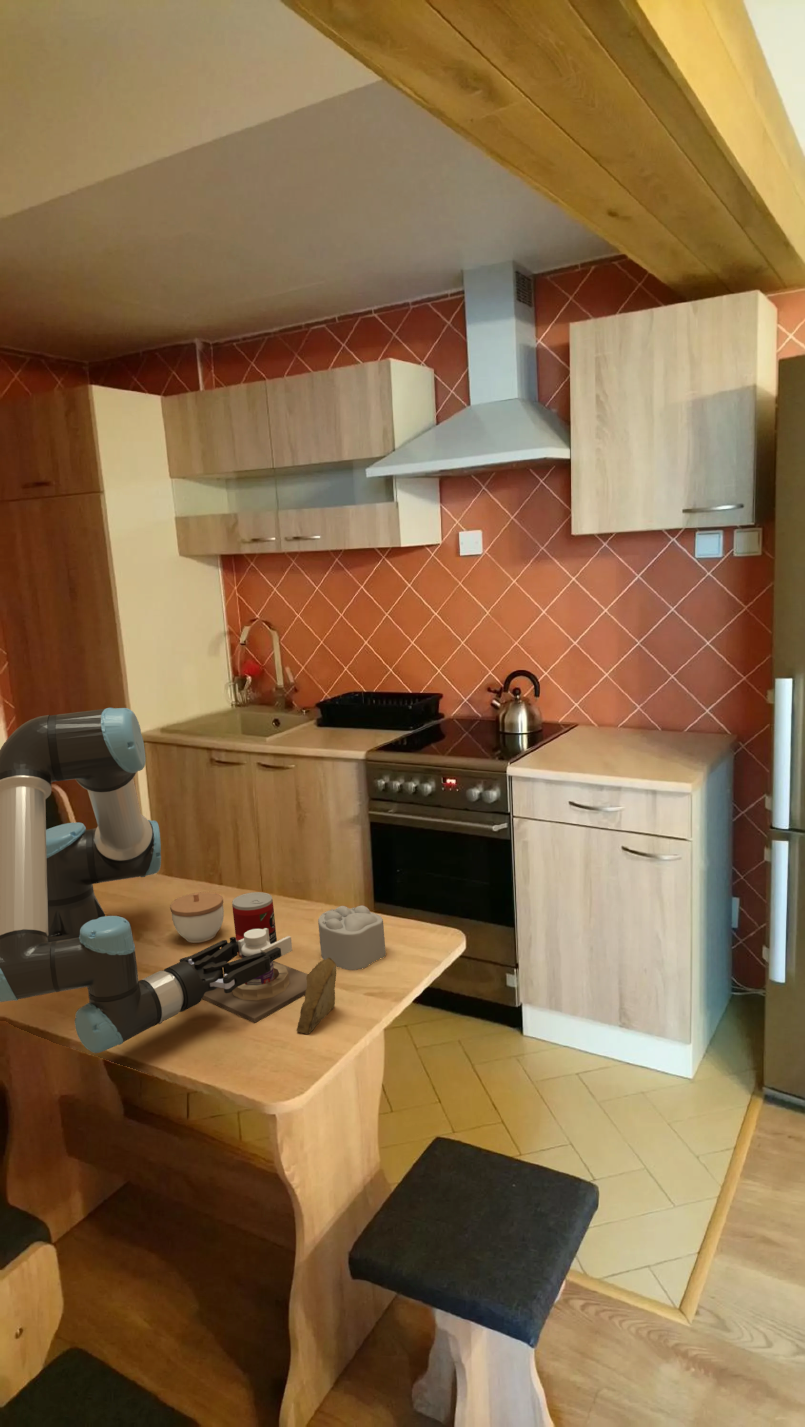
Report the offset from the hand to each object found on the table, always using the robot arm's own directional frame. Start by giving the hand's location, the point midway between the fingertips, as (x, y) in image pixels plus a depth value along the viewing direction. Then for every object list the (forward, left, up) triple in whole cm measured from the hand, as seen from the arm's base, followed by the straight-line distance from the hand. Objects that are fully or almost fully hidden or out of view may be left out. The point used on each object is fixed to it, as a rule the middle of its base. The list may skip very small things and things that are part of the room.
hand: (278, 939), depth 162 cm
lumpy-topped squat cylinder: (+3, +14, -8) cm, 17 cm away
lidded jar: (-29, +3, -8) cm, 30 cm away
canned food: (-13, +5, -8) cm, 16 cm away
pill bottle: (0, -5, -7) cm, 9 cm away
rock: (+15, -6, -8) cm, 18 cm away
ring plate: (0, -5, -8) cm, 9 cm away
